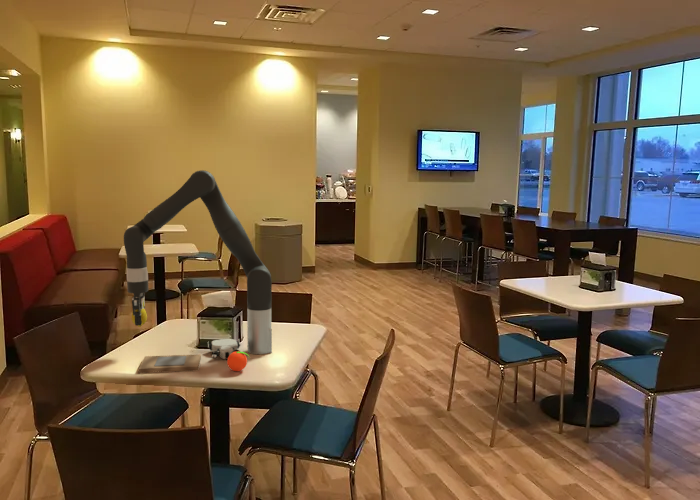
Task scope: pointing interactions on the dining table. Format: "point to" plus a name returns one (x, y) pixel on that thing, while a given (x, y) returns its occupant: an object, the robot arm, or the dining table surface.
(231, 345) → the robot toy
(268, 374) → the dining table surface
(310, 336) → the dining table surface
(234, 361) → the clementine
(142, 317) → the lemon
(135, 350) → the dining table surface
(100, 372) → the dining table surface
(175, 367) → the serving board
